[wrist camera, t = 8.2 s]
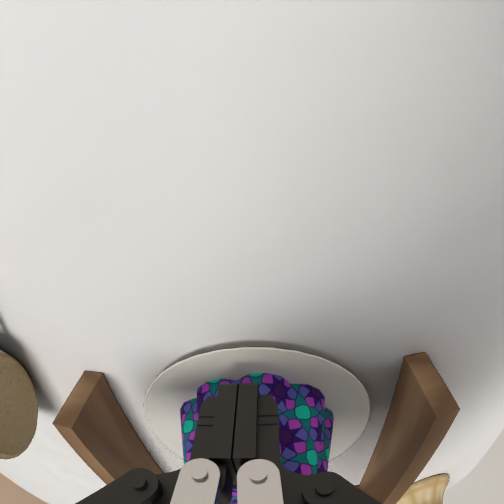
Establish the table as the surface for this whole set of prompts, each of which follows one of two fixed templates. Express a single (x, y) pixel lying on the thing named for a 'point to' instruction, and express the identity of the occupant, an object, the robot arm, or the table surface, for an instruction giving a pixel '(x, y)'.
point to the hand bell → (426, 491)
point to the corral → (373, 483)
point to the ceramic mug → (16, 408)
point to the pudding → (270, 382)
